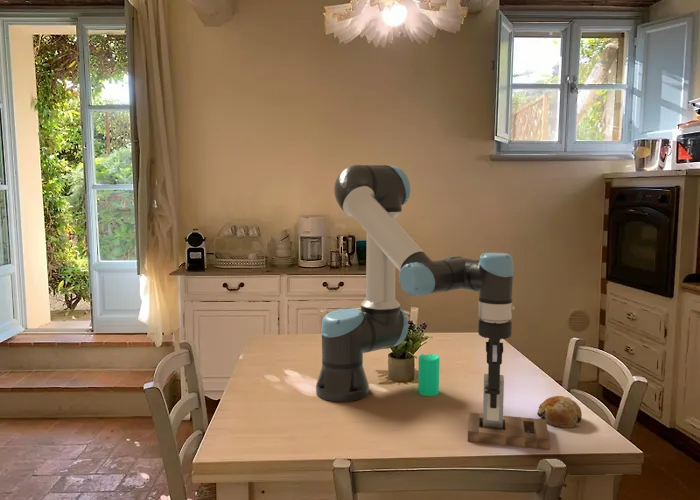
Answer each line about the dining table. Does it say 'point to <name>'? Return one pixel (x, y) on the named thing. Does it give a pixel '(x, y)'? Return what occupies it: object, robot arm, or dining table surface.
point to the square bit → (499, 424)
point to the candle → (428, 375)
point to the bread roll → (560, 412)
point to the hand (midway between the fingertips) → (492, 415)
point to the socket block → (510, 432)
